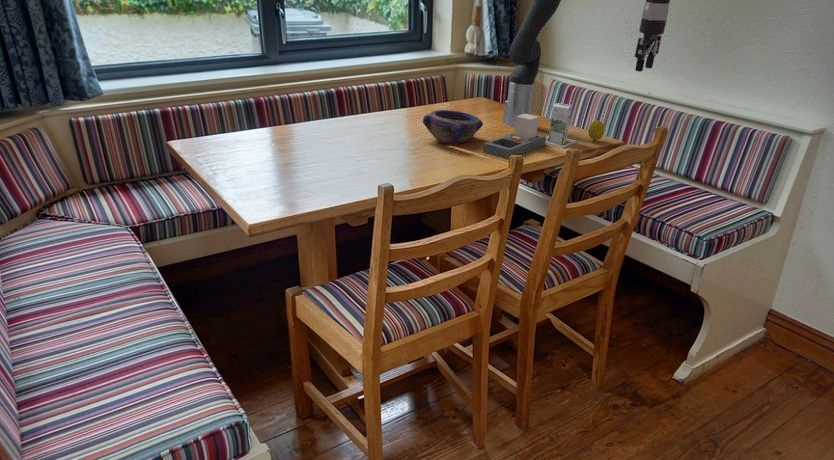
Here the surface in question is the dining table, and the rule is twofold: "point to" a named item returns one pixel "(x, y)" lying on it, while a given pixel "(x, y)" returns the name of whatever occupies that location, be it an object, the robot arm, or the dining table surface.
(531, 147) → the socket strip
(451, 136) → the bowl
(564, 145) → the tray
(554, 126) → the syrup box
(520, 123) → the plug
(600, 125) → the lemon
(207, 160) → the dining table surface
